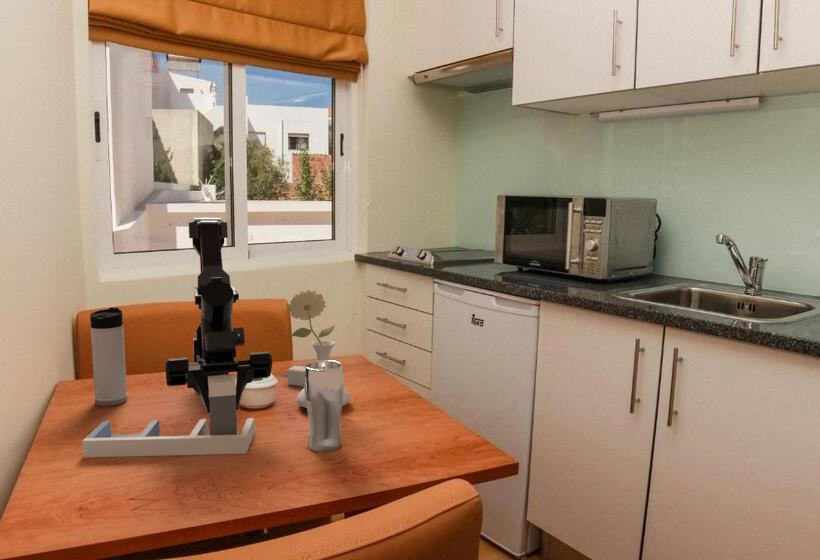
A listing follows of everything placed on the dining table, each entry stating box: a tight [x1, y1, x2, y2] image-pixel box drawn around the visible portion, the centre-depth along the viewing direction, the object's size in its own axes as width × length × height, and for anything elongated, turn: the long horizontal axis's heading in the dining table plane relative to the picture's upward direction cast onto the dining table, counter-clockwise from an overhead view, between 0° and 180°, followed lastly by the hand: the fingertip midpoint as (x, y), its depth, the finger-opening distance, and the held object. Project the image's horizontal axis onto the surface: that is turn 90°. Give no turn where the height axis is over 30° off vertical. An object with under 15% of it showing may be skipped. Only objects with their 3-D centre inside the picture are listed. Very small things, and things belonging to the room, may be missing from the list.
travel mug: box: [89, 307, 128, 407], centre depth 134 cm, size 6×7×20 cm
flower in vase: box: [287, 290, 351, 409], centre depth 133 cm, size 13×11×25 cm
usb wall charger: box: [280, 365, 306, 388], centre depth 150 cm, size 4×7×4 cm, turn 69°
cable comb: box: [82, 417, 256, 459], centre depth 113 cm, size 27×9×3 cm, turn 95°
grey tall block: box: [207, 373, 238, 435], centre depth 114 cm, size 4×4×12 cm
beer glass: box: [303, 359, 345, 453], centre depth 113 cm, size 7×7×15 cm
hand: (222, 410), depth 113 cm, fingers closed on grey tall block, 4 cm apart
